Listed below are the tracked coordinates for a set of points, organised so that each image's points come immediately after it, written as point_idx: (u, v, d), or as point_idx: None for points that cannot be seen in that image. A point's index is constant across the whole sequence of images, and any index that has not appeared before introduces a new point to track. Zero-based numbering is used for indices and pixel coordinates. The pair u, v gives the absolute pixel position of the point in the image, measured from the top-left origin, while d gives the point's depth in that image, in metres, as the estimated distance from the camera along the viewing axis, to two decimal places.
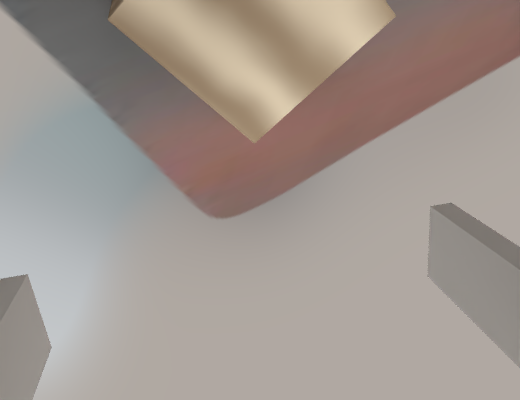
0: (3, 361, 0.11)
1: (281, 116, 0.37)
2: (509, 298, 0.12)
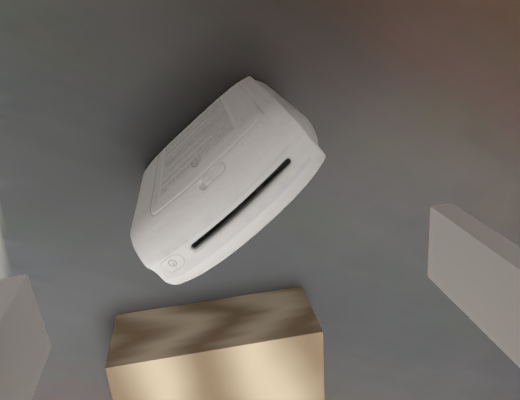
0: (3, 361, 0.11)
1: None
2: (509, 298, 0.12)
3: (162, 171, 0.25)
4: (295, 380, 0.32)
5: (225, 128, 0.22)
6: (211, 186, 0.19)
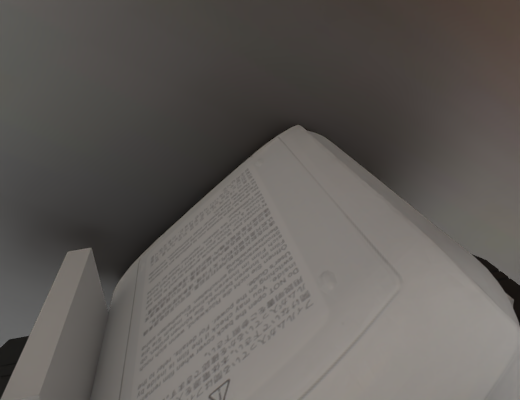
0: (81, 321, 0.13)
1: None
2: None
3: (141, 333, 0.12)
4: None
5: (283, 282, 0.09)
6: None
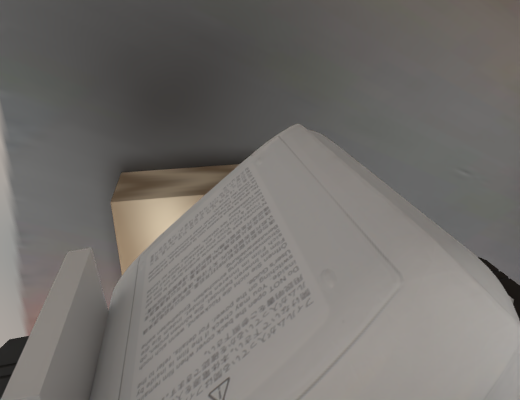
0: (81, 321, 0.13)
1: None
2: None
3: (141, 331, 0.12)
4: None
5: (283, 280, 0.09)
6: None
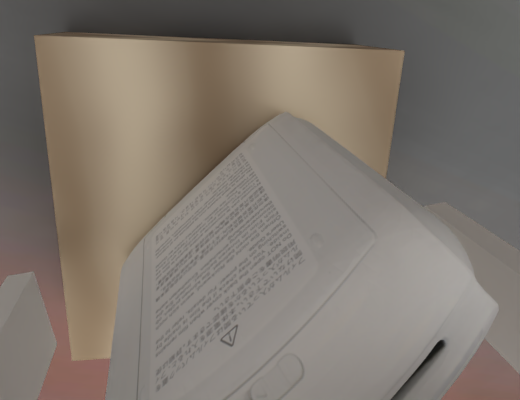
0: (11, 357, 0.12)
1: None
2: (501, 297, 0.12)
3: (154, 299, 0.14)
4: (347, 139, 0.20)
5: (279, 245, 0.11)
6: None
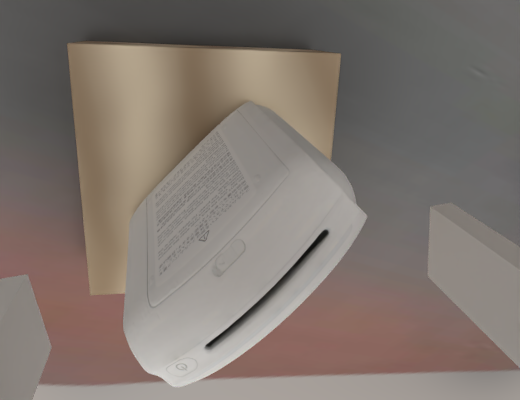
0: (3, 361, 0.11)
1: None
2: (509, 298, 0.12)
3: (156, 231, 0.20)
4: (300, 121, 0.26)
5: (236, 184, 0.17)
6: (229, 272, 0.15)
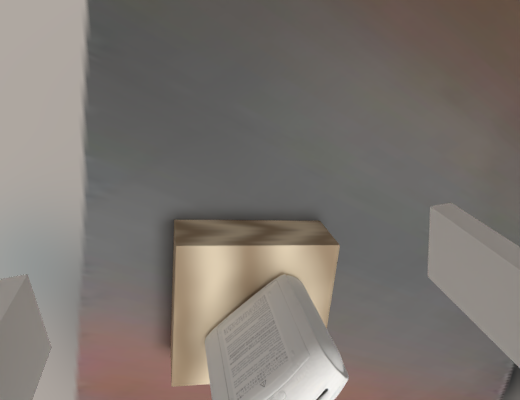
0: (3, 361, 0.11)
1: (206, 382, 0.43)
2: (509, 298, 0.12)
3: (229, 364, 0.35)
4: (312, 283, 0.41)
5: (280, 351, 0.32)
6: None
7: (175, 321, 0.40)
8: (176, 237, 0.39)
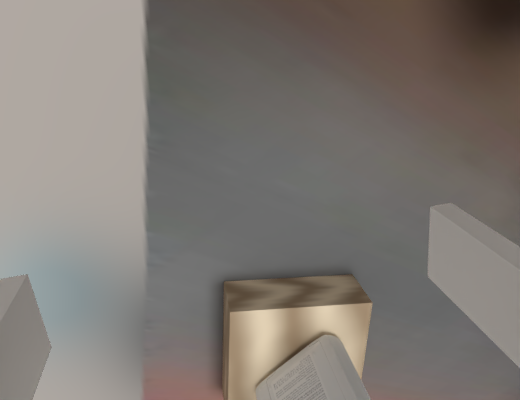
0: (3, 361, 0.11)
1: None
2: (509, 298, 0.12)
3: None
4: (349, 335, 0.46)
5: None
6: None
7: (230, 373, 0.46)
8: (228, 302, 0.45)
